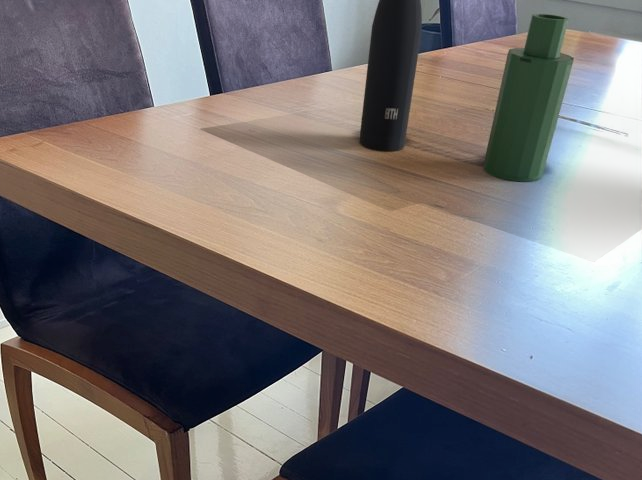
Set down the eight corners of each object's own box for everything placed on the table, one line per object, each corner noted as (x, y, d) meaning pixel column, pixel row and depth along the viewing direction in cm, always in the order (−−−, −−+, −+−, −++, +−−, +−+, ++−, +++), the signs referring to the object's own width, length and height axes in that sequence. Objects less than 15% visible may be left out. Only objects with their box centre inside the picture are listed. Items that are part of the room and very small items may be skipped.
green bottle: (552, 173, 98) (594, 20, 87) (525, 186, 93) (567, 24, 82) (500, 158, 102) (535, 9, 90) (472, 169, 97) (505, 13, 86)
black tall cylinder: (380, 135, 106) (414, -127, 88) (413, 147, 103) (456, -123, 84) (349, 141, 103) (377, -130, 84) (382, 154, 99) (420, -127, 81)
